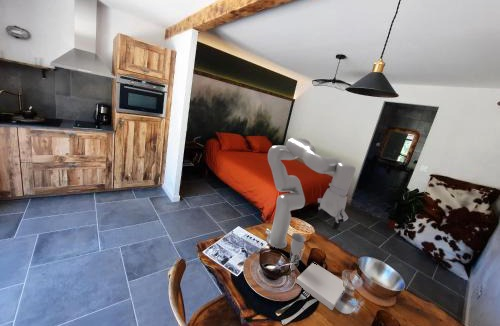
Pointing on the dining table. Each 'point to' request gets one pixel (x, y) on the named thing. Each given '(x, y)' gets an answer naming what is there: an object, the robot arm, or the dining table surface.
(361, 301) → the dining table surface
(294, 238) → the chalice
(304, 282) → the plinth
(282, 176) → the robot arm
